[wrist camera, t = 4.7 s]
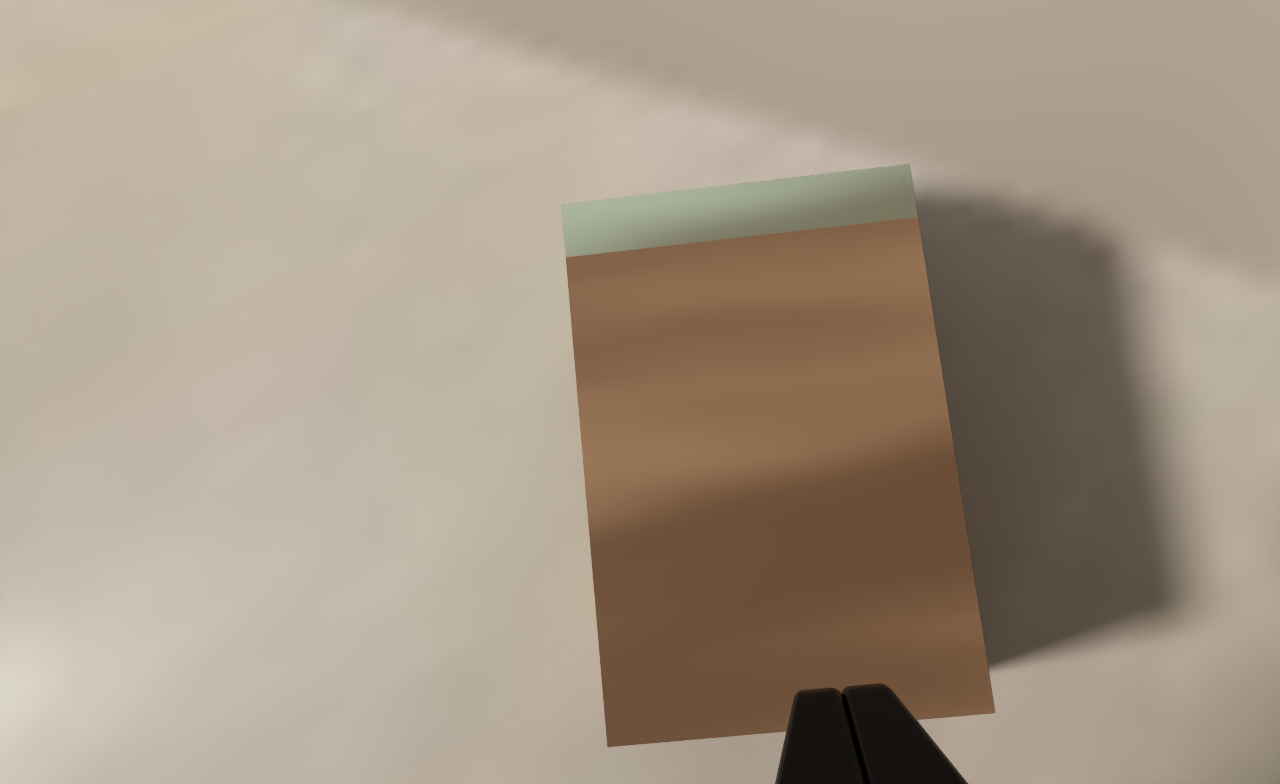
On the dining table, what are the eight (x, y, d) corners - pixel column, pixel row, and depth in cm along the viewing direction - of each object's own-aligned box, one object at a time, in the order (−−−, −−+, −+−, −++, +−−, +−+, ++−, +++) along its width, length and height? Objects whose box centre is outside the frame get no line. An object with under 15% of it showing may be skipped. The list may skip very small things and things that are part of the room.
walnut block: (995, 712, 12) (909, 163, 14) (607, 746, 12) (561, 204, 14) (932, 680, 16) (868, 244, 17) (629, 707, 16) (590, 275, 17)
